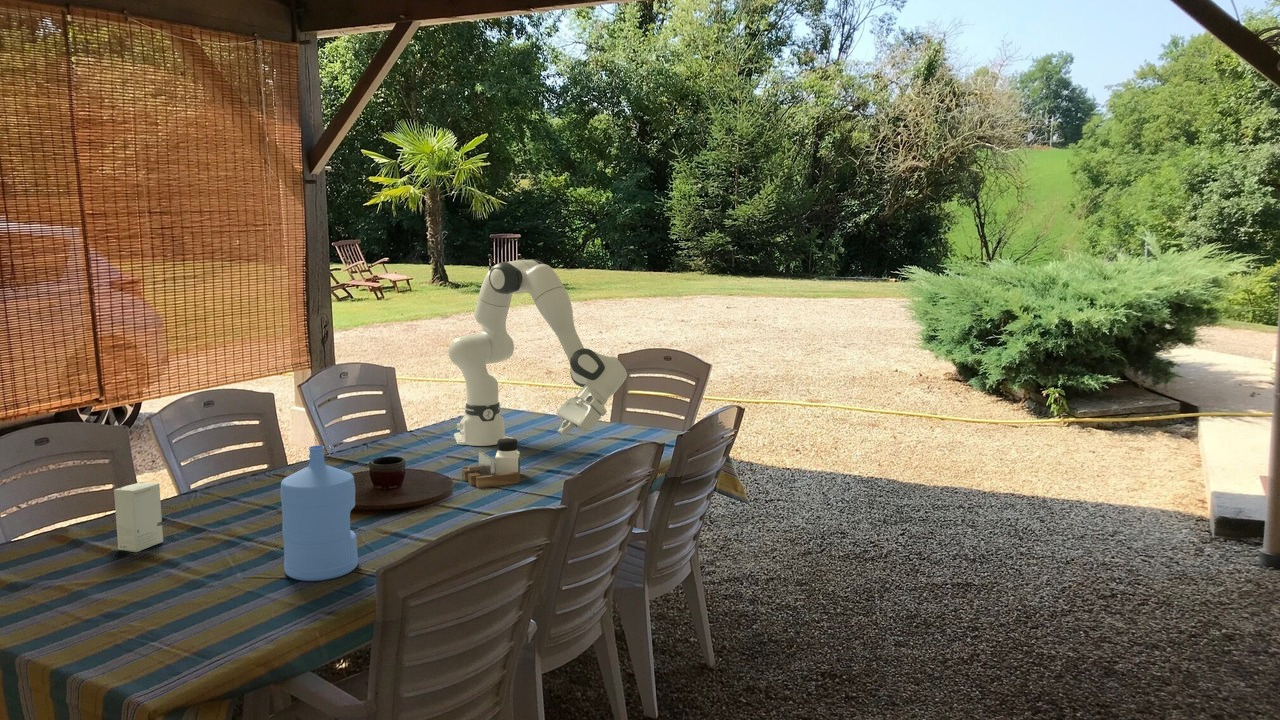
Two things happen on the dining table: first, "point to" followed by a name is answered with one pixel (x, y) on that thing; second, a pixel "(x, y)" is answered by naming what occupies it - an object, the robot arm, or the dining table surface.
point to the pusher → (484, 465)
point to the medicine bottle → (507, 456)
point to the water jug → (318, 521)
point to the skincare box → (138, 516)
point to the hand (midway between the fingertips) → (560, 433)
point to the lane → (488, 478)
